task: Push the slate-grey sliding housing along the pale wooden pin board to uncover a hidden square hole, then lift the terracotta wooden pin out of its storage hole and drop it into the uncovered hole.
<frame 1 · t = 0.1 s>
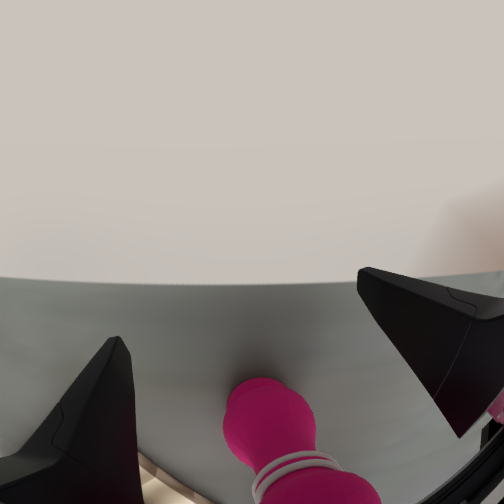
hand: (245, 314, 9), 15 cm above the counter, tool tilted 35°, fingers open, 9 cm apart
pin board: (97, 498, 18), on the counter
pepper mill: (259, 405, 23), on the counter
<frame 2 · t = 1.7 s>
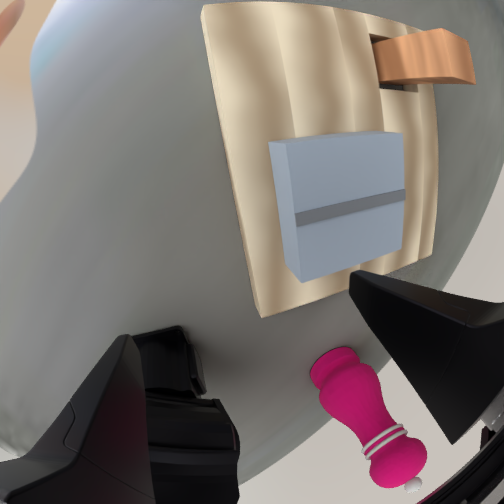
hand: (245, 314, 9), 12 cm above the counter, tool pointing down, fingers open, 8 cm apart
pin: (381, 66, 18), resting in pin board
pin board: (348, 148, 20), on the counter
housing: (345, 199, 18), point 4 cm above the counter, slide at 0.0 cm
pepper mill: (331, 363, 31), on the counter
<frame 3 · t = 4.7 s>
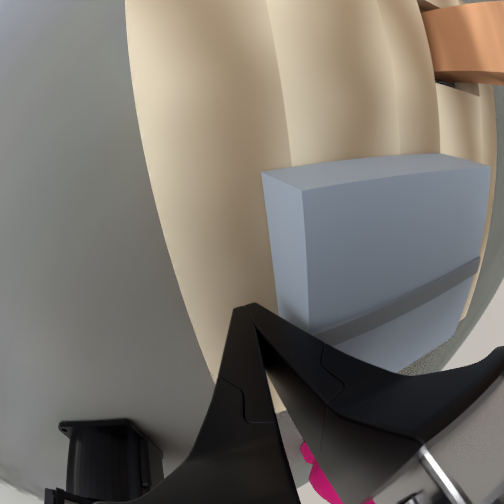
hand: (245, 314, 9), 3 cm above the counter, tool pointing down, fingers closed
pin: (427, 50, 10), resting in pin board
pin board: (379, 178, 12), on the counter
housing: (394, 278, 10), point 4 cm above the counter, slide at 0.9 cm, touching gripper
pepper mill: (327, 435, 23), on the counter
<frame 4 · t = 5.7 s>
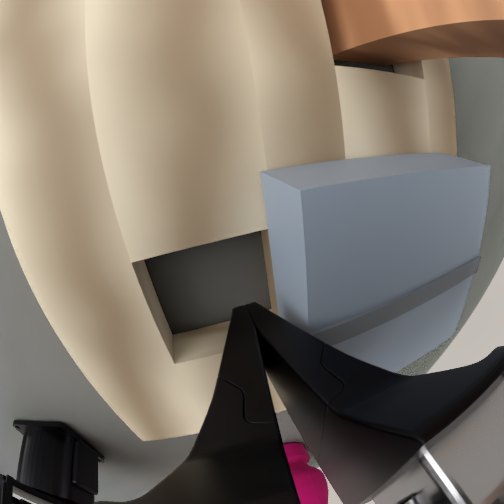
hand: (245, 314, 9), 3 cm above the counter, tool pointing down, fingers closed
pin: (348, 29, 9), resting in pin board
pin board: (268, 197, 11), on the counter
housing: (394, 277, 10), point 4 cm above the counter, slide at 6.7 cm, touching gripper
pepper mill: (274, 454, 22), on the counter
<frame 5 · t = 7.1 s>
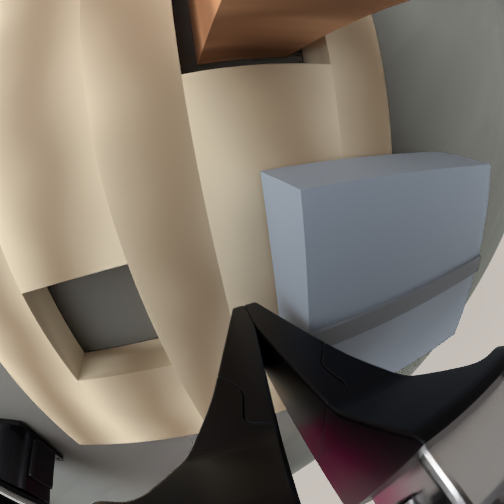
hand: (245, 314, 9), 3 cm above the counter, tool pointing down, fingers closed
pin: (236, 22, 8), resting in pin board
pin board: (142, 227, 10), on the counter
housing: (394, 277, 10), point 4 cm above the counter, slide at 11.9 cm, touching gripper
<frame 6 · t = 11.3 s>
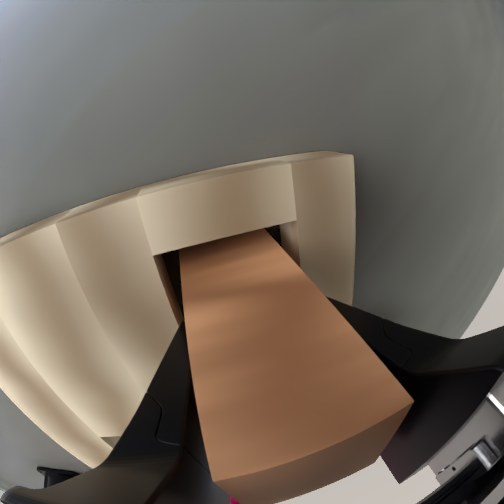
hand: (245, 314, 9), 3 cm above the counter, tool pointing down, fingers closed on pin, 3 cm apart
pin: (228, 273, 12), resting in pin board, touching gripper
pin board: (173, 398, 14), on the counter
when the fingers open (4 cm above the counter, at t = 15.9 s): pin drops 1 cm, resting in pin board.
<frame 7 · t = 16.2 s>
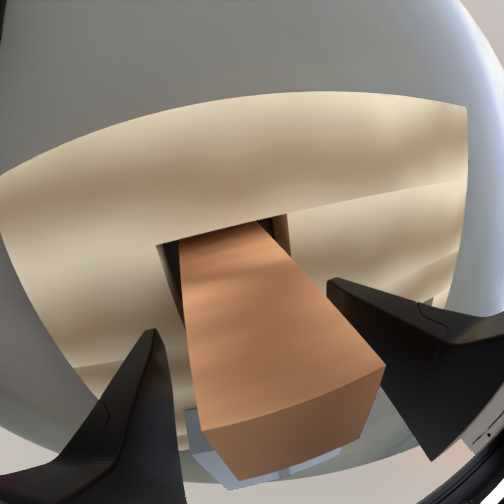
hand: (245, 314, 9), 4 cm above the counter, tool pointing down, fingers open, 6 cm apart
pin: (224, 263, 13), resting in pin board
pin board: (290, 298, 15), on the counter
housing: (274, 443, 15), point 4 cm above the counter, slide at 11.9 cm
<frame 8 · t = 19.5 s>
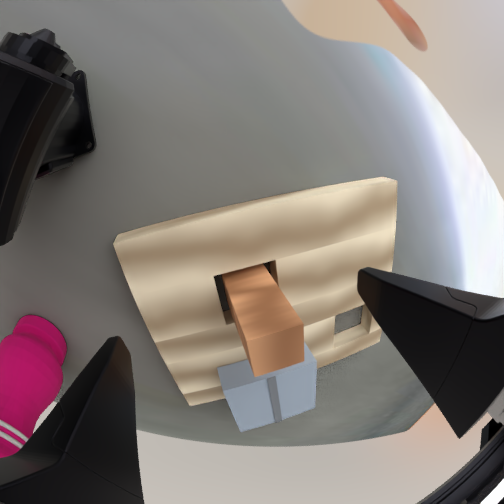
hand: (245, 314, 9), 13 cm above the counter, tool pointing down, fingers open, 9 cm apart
pin: (243, 281, 24), resting in pin board
pin board: (279, 299, 26), on the counter
housing: (271, 391, 26), point 4 cm above the counter, slide at 11.9 cm
pepper mill: (42, 337, 21), on the counter
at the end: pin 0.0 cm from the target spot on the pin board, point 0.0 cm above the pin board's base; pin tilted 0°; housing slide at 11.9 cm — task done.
